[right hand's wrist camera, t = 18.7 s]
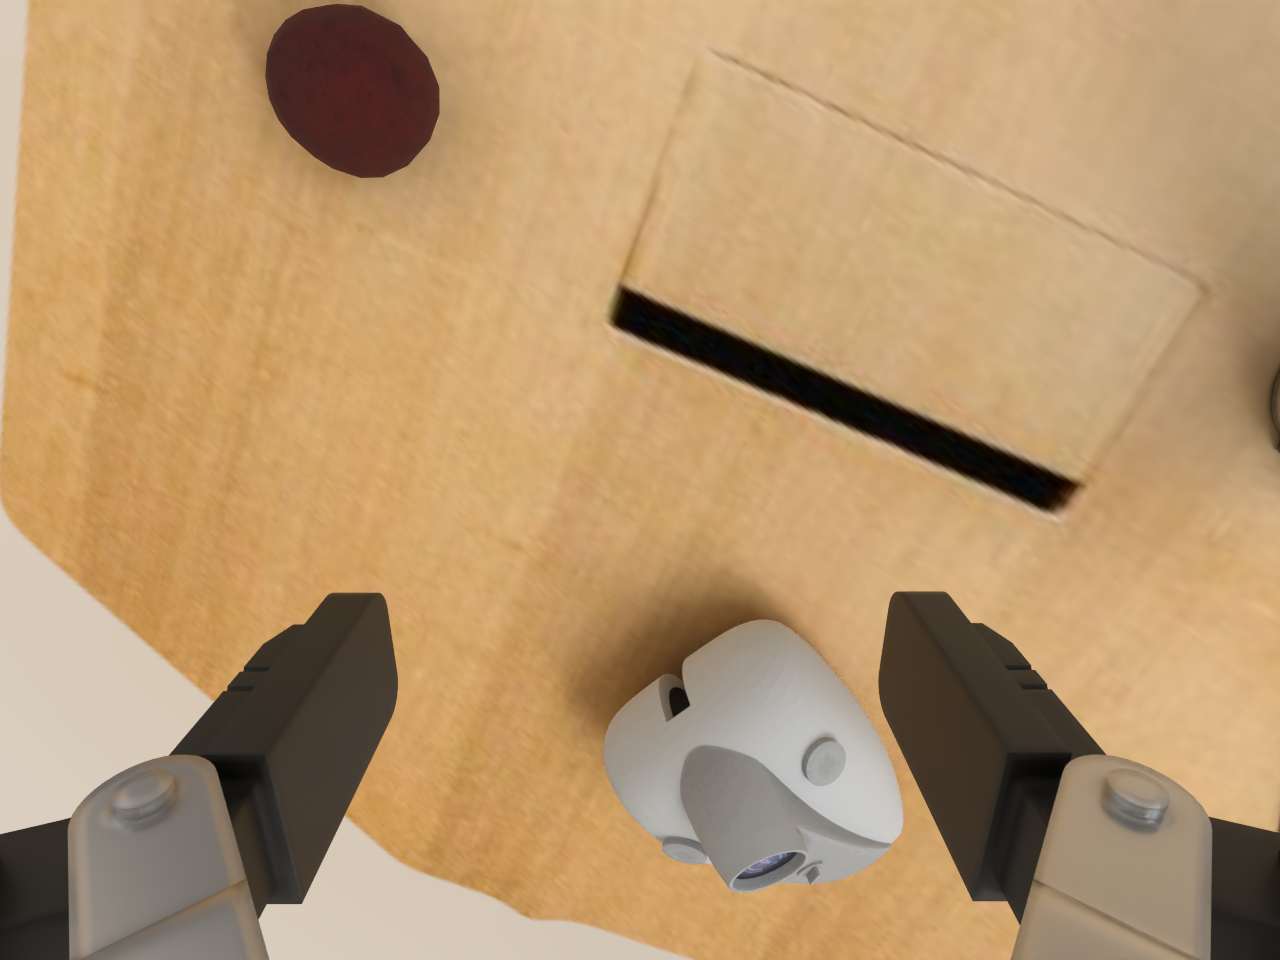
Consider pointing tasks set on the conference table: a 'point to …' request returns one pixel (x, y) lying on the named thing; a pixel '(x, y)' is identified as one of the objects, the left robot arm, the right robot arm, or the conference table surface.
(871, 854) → the projector
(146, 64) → the conference table surface
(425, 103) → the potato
